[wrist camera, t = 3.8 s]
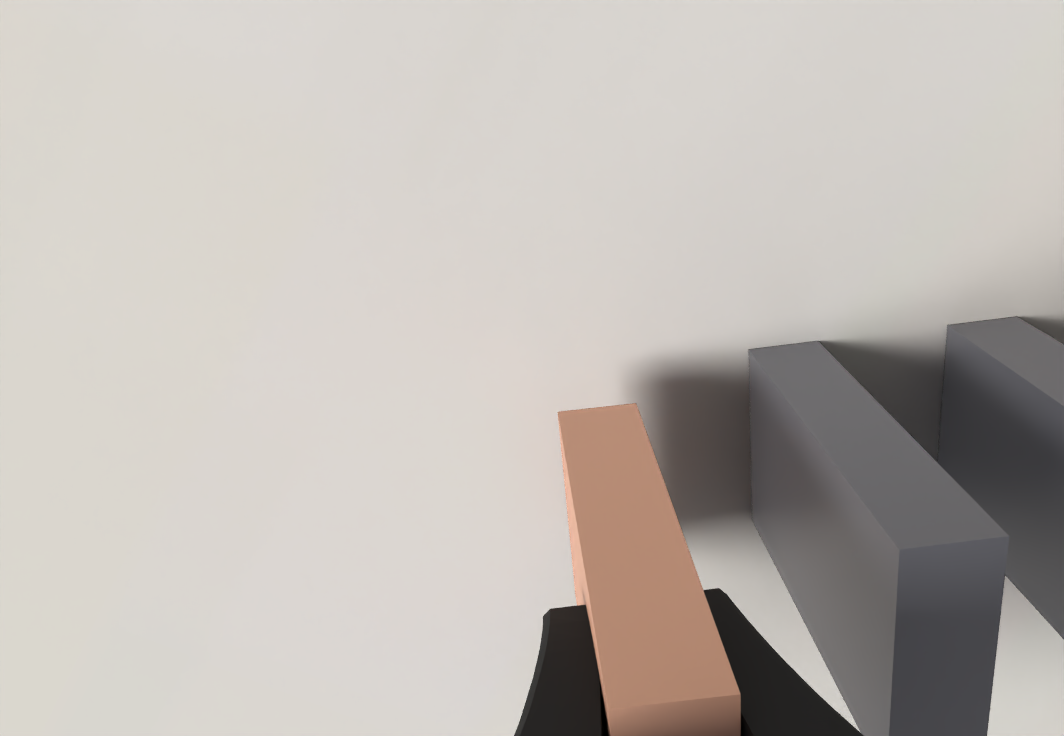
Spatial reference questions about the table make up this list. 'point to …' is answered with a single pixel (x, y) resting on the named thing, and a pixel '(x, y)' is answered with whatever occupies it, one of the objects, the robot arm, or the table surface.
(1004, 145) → the table surface
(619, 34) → the table surface
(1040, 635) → the table surface
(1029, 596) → the domino
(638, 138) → the table surface
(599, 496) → the domino
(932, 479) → the domino
